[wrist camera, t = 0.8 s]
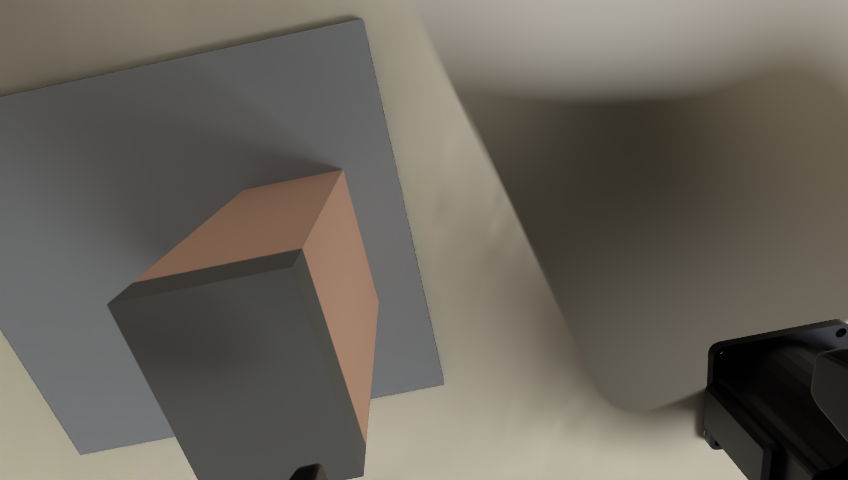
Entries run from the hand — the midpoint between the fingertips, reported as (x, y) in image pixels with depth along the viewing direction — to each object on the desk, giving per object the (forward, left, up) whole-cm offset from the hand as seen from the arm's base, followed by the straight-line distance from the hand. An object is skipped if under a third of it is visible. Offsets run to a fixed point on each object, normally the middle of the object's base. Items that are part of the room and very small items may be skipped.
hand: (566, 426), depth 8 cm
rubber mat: (+12, 0, -12) cm, 17 cm away
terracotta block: (+7, 0, -12) cm, 13 cm away
